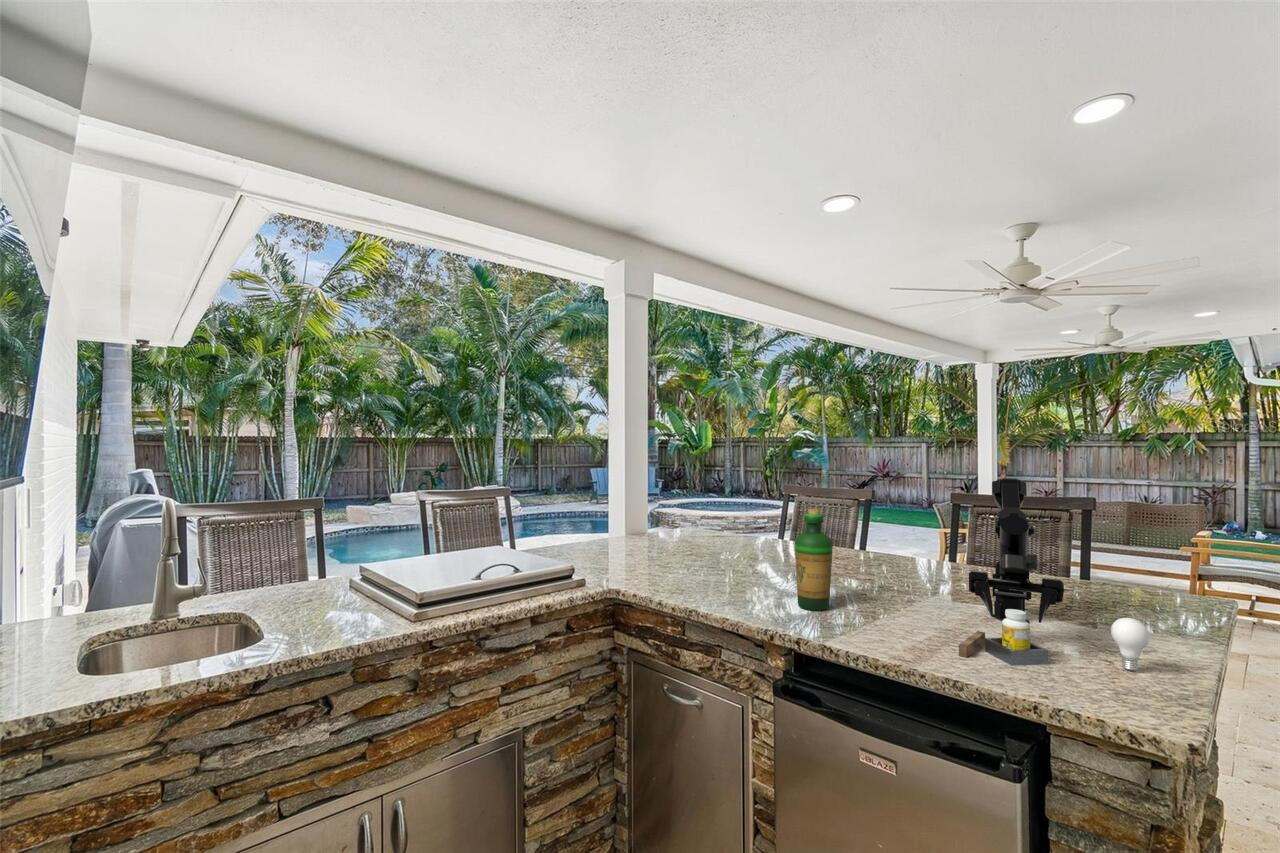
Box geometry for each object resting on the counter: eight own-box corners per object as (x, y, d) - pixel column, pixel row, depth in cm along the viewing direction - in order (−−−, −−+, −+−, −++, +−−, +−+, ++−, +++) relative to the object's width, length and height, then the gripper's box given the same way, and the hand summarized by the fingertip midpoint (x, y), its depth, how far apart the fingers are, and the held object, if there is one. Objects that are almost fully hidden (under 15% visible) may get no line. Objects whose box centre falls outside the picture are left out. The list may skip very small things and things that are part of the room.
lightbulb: (1103, 665, 132) (1103, 614, 132) (1130, 664, 132) (1130, 613, 132) (1129, 676, 125) (1129, 623, 125) (1157, 676, 126) (1157, 622, 126)
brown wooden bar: (977, 641, 146) (977, 630, 146) (985, 643, 145) (985, 632, 145) (958, 655, 136) (958, 644, 136) (966, 657, 135) (966, 646, 135)
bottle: (791, 610, 172) (792, 510, 172) (796, 600, 182) (797, 506, 182) (831, 614, 168) (831, 512, 168) (834, 604, 178) (834, 508, 178)
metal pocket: (1020, 650, 140) (1020, 637, 140) (1048, 664, 132) (1048, 650, 132) (985, 651, 140) (984, 638, 140) (1011, 665, 131) (1011, 651, 131)
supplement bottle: (1034, 659, 133) (1034, 615, 133) (1007, 658, 134) (1007, 614, 134) (1024, 651, 138) (1023, 608, 138) (998, 649, 139) (998, 607, 139)
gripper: (968, 536, 146) (967, 593, 137) (1063, 544, 137) (1069, 605, 127) (969, 563, 153) (968, 619, 143) (1059, 572, 144) (1064, 632, 134)
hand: (1015, 618), depth 137 cm, fingers open, 9 cm apart
